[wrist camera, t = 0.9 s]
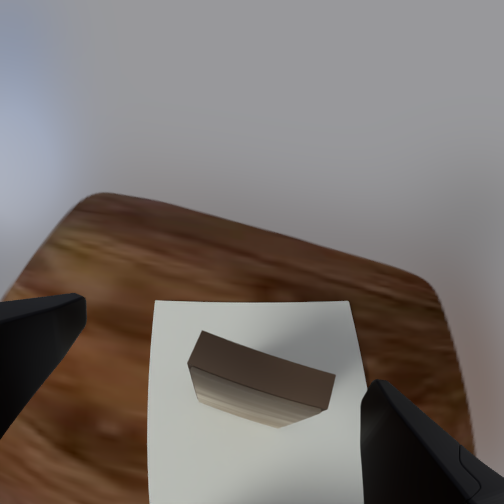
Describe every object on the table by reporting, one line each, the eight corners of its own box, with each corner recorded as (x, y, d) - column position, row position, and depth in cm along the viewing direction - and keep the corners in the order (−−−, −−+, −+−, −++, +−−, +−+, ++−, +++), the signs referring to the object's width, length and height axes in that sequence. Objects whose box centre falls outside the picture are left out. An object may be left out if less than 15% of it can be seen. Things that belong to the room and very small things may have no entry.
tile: (279, 429, 17) (326, 413, 10) (196, 401, 18) (184, 367, 11) (287, 406, 19) (336, 374, 12) (205, 378, 19) (202, 330, 12)
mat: (377, 505, 14) (381, 506, 14) (153, 529, 12) (152, 531, 11) (345, 304, 25) (348, 300, 25) (156, 304, 23) (155, 300, 22)
